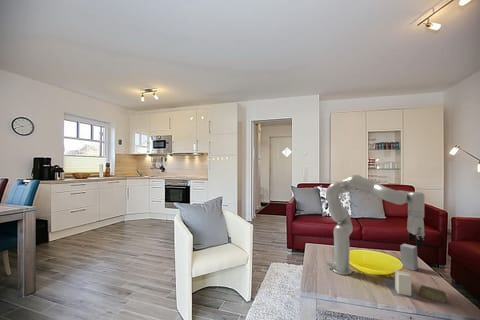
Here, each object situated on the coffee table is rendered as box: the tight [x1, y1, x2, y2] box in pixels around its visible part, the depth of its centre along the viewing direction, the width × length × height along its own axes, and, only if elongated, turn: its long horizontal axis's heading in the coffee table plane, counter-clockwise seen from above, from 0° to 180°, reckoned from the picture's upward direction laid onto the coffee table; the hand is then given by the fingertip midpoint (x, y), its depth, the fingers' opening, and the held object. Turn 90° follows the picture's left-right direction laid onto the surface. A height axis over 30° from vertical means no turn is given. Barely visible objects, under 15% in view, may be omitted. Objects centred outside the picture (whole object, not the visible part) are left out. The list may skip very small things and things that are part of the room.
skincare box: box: [400, 243, 419, 272], centre depth 164 cm, size 8×7×16 cm
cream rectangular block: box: [394, 269, 412, 296], centre depth 132 cm, size 6×6×11 cm
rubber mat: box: [382, 278, 419, 300], centre depth 136 cm, size 12×20×1 cm, turn 163°
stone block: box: [418, 284, 448, 304], centre depth 127 cm, size 6×12×5 cm, turn 50°
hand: (415, 243), depth 133 cm, fingers open, 9 cm apart
